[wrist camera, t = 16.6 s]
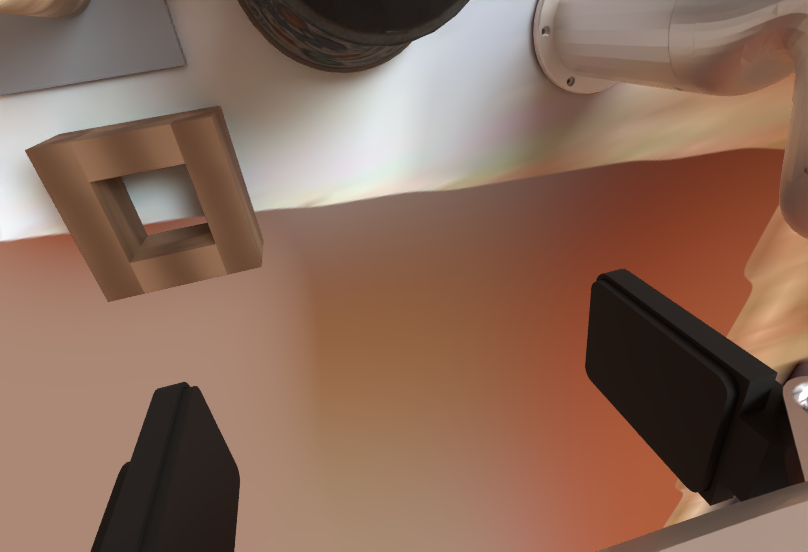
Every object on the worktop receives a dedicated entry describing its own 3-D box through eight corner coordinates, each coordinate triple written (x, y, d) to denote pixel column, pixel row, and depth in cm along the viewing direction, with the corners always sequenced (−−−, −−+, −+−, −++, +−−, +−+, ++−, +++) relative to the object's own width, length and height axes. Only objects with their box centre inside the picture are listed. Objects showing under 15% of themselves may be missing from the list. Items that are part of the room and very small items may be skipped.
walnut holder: (219, 105, 40) (211, 116, 34) (263, 240, 46) (261, 266, 41) (59, 134, 38) (24, 150, 33) (127, 270, 44) (108, 301, 39)
